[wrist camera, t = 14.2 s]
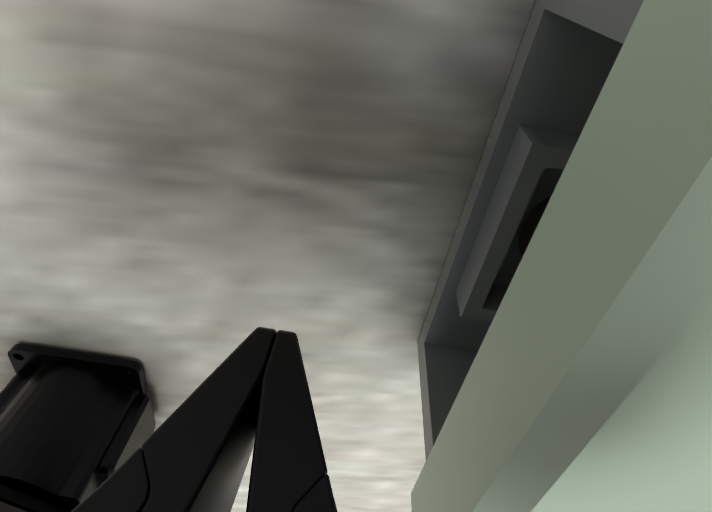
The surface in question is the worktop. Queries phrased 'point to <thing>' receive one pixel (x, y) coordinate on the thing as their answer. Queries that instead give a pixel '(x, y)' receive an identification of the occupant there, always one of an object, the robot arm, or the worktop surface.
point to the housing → (516, 182)
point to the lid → (604, 310)
